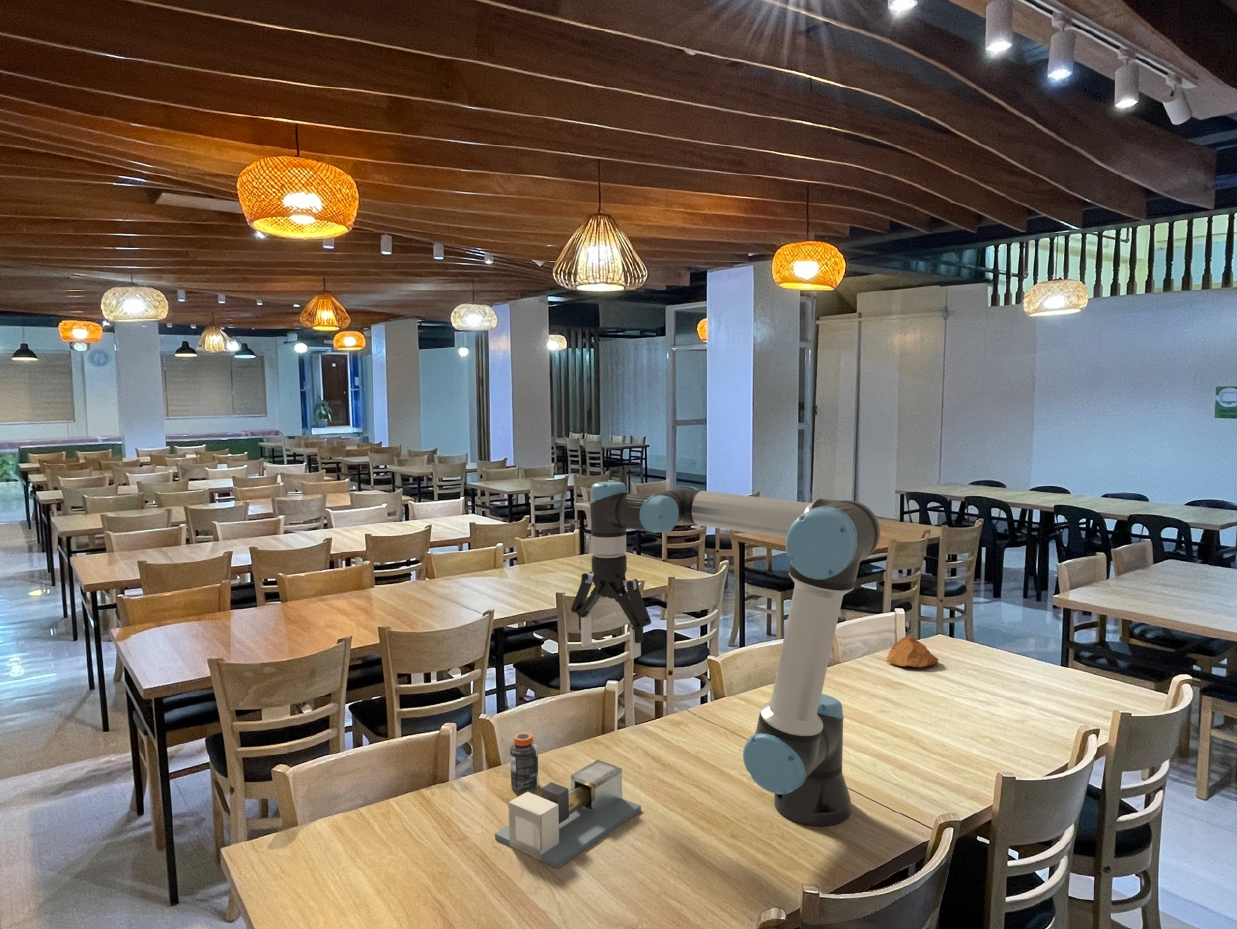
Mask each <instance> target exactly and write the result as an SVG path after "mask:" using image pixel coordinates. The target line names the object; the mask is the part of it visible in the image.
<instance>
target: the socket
mask: <svg viewBox="0 0 1237 929" xmlns="http://www.w3.org/2000/svg"><path fill="white" fill-rule="evenodd" d="M508 826H509V837H510V846H509V847H511V848H514V849H515V850H518V851H520V852H522V853H525V854H526V855H528V856H530V857H532V858H535V859H536V860H538V861H540V862H542V861H541V857H540V855H542V854H543V853H545V852H546V851H548V850H549V849H551V848H552V847H554V846H555V845H557V844H558V843H559V812H558V804H556V803H554V802H551V801H549V800H547V799H544V798H542V797H541V796H539V795H537V794H534V793H531V791H529V792H523V793H522V794H520V795H519V796H517V797H516V798H513V799H512V800H509V801H508ZM512 844H514V845H512ZM516 844H517V845H516ZM532 852H533V853H532ZM536 855H538V856H537V857H536Z"/></svg>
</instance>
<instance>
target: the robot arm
mask: <svg viewBox="0 0 1237 929" xmlns="http://www.w3.org/2000/svg"><path fill="white" fill-rule="evenodd" d="M589 506H590V509H589V510H590V523H591V532H590V538H591V539H590V540H591V541H590V552H591V554H593V555H592V556H591V571H588V572H583V573H582V574H581V580H580V585H579V587H578V590H577V593H576V595H575V598H574V600H573V603H572V606H571V609H570V610H571V613H575V614H576V615H577V617H578V629H579V630H580V640H581V641H580V644H581V647H582V648H585V647H588V646H590V645H592V644H593V637H592V636H593V634H592V633H593V631H592V630H593V629H592V628H593V626H592V625H593V624H592V614H591V615H590V613H591V611H592V609H593V608H594V607H595V605H596V604H597V602H598V601H599V599H600V598H608V599H611V600H612V599H613V600H615V602H616V603H618V604H619V606H620V608H621V609H622V611H623V613H624V615H625V616H626V617H627V619H628V621H629V622H630V624H631V626H632V627H630V628H629V653H630V654H629V658H630V659H631V660H634V659H637V658H639V657H641V656H642V651H641V650H642V647H641V646H642V644H641V643H643V641H644V627H647V626H649V625H651V624H652V620H651V617H650V614H649V612H648V609H647V607H646V604H645V601H644V599H643V597H642V595H641V592H640V586H639V580H638V579H636V578H634V579H632V580H628V579H626V573H627V570H628V567H627V562H628V561H627V555H626V552H627V530H633V531H640V532H641V531H642V532H650V533H652V534H653V533H654V534H657V533H669V532H671V531H672V530H673V529H674V528H675V527H676V525H678V524H685V525H690V526H691V525H692V526H693V525H694V526H700V527H709V528H715V529H721V530H722V529H723V530H726V531H727V530H729V531H735V532H743V533H749V534H756V535H761V536H770V537H776V538H783V539H785V551H786V555H787V558H788V559H789V561H790V563H789V570H788V575H789V577H790V578H791V580H792V582H794V587H793V592H792V597H791V602H790V607H789V612H788V616H787V620H786V621H787V622H786V626H785V631H784V635H783V641H782V644H781V649H780V650H781V651H780V655H779V661H778V665H777V669H776V675H775V680H774V684H773V689H772V693H771V698H770V701H768V702H766V703H764V704H762V706H761V708H760V711H759V715H758V720H757V724H756V729H755V733H754V734H753V735H751V736H750V737H749V738H748V739H747V741H746V742H745V745H744V747H743V751H742V752H743V753H742V759H743V764H744V766H745V769H746V771H747V772H748V773H749V775H750V777H751V779H752V780H753V782H755V784H757V785H758V786H759V787H760V788H762V789H763V790H765V791H767V792H769V793H772V794H774V798H773V800H774V807H775V810H777V812H778V813H779V815H782V816H783V817H785V818H786V819H789V820H790V821H793V822H795V823H798V824H803V825H807V826H817V827H818V826H819V827H823V826H824V827H825V826H832V825H837V824H839V823H842V822H844V821H846V820H847V819H848V818H849V817H850V816H851V812H852V800H851V795H850V792H849V789H848V786H847V784H846V780H845V777H844V772H843V748H844V747H843V746H844V742H843V741H844V739H843V738H844V720H845V717H844V715H843V714H844V712H843V711H844V710H843V705H842V703H841V701H840V700H838V699H837V698H835V697H834V696H831V695H828V694H824V693H823V689H824V685H825V679H826V675H827V671H828V665H829V662H830V656H831V653H832V647H833V643H834V639H835V634H836V630H837V626H838V622H839V616H840V611H841V607H842V602H843V599H844V598H843V597H844V596H845V595H846V594H849V593H850V592H852V591H853V590H854V589H855V586H856V581H857V578H858V577H857V576H858V572H859V569H860V568H859V567H860V563H861V562H862V561H865V559H867V558H868V557H869V556H870V555H872V554H873V552H875V550H876V549H877V546H878V545H879V542H880V537H881V526H880V523H879V520H878V519H877V517H876V514H875V513H874V512H873V511H872V509H871V508H869V507H868V506H867V505H865V504H863V503H861V502H858V501H857V500H856V501H855V500H849V499H843V500H841V499H840V500H839V499H838V500H837V499H826V498H825V499H824V498H816V499H815V500H813V501H812V502H805V501H804V502H803V501H797V500H787V499H779V498H778V499H777V498H770V497H769V498H768V497H761V496H751V495H742V494H735V493H734V494H733V493H726V492H719V491H718V492H716V491H707V490H700V489H699V488H697V487H694V486H679V487H676V488H672V489H667V490H663V491H657V492H653V493H647V494H646V493H645V494H644V493H629V492H627V487H626V484H625V482H620V481H599V482H595V483H593V484H592V485H591V488H590V502H589ZM593 584H594V587H593V589H592V590H591V588H592V586H593ZM590 590H591V591H590ZM589 593H590V594H589Z"/></svg>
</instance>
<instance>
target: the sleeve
mask: <svg viewBox="0 0 1237 929" xmlns="http://www.w3.org/2000/svg"><path fill="white" fill-rule="evenodd" d="M622 770H623V769H622V767H619V766H616V765H615V764H611V763H608V762H606V761H603V760H599V759H596V760H595V761H593V762H591V763H589V764H587V765H586V766H584V767H582V768H581V769H579V770H577V771H575V772H574V773H572V774H570V789H571V791H573V790H575V789H576V788H578V787H580V786H581V785H583V784H584V785H587V786H590V787H591V799H592V801H591V802H590V803H588V804H587V805H585V806H583V807H582V808H580V810H583V811H585V812H588V813H590V814H593V815H595V816H596V815H598V814H599V813H601V812H602V811H604V810H605V809H607V808H608V807H610V806H611V805H613V804H614V803H616V802H618V801H619V800H621V799H623V771H622Z"/></svg>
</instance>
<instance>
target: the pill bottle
mask: <svg viewBox="0 0 1237 929" xmlns="http://www.w3.org/2000/svg"><path fill="white" fill-rule="evenodd" d="M513 740H514V741H513V744H512V745H511V746H510V750H509V761H510V763H509V765H510V786H511V789H512V790H513V791H515V792H518V793H526V792H532V791H535V790H536V789H537V788H538V786H539V785H540V784H539V781H540V780H539V753H538V752H539V751H538V746H537V744H536V743H534V736H533V734H532V733H530V732H520V733H517V734H515V735H514V736H513Z"/></svg>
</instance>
